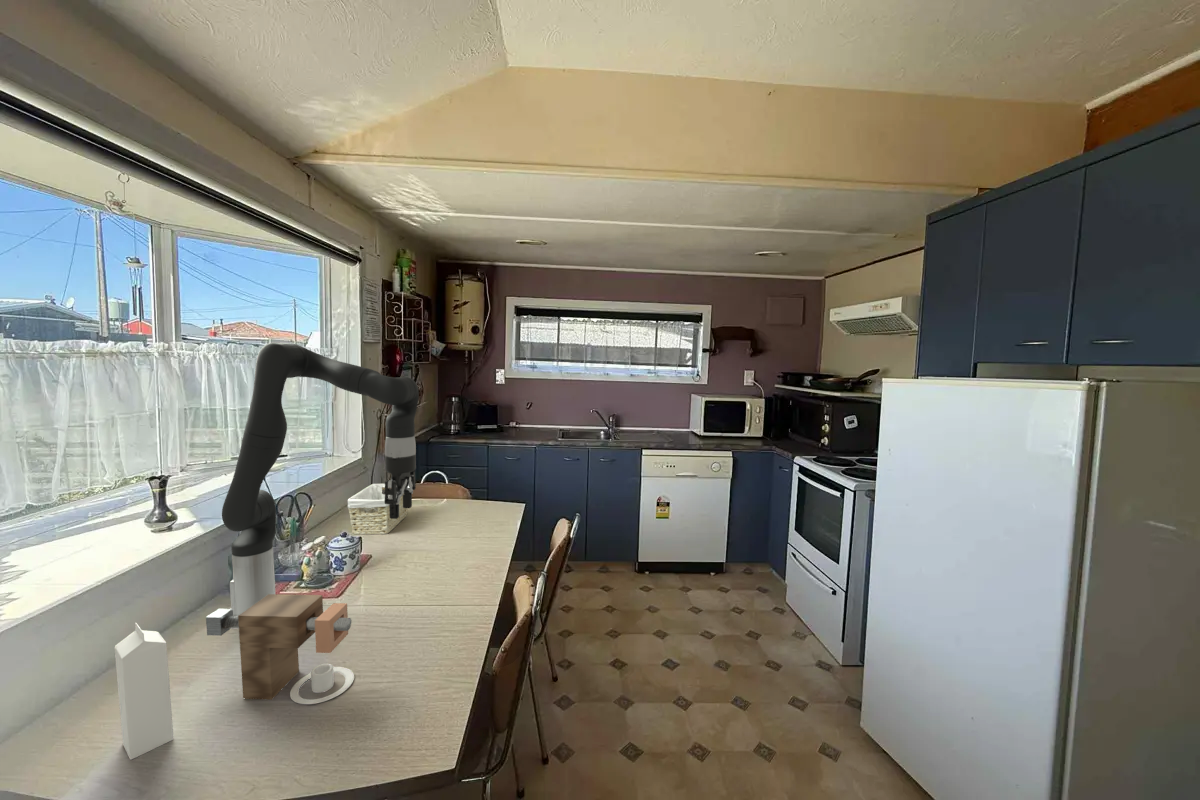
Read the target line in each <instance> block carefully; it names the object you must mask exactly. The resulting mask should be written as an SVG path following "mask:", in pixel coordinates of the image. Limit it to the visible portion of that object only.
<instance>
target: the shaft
mask: <svg viewBox="0 0 1200 800" xmlns="http://www.w3.org/2000/svg"><path fill="white" fill-rule="evenodd" d="M317 618H318V617H309V618H308V619H307V620H306V630H315V620H316V619H317ZM205 621H206V625H205V626H206V636H218V637H219V636H224V634H226V633H227V632H229V630H231V629H232V630H233V629H235V630H237V629H238V630H239V622H238V616H235V615H233V609H231V608H217V609H216V610H215V611H213V612H211V613H210V614H208V615H207V616H205ZM351 626H352V618H351V617H348V618H339V619H338V620H337V621H336V622H335V623H334V631H348V632H349V630H350V628H351Z"/></svg>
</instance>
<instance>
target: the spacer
mask: <svg viewBox="0 0 1200 800" xmlns="http://www.w3.org/2000/svg"><path fill="white" fill-rule="evenodd" d="M348 612H349V611H348V603H346V602H345V603H342V602H341V603H340V602H337V603H335V602H333V603H332V604H331V605H329V607H328V608H327V609H325V610H323V613H322V614H321V615H320V616H319V617H318V618H317V619H316V620H315V633H314V635H315V652H316V654H331V653H332V652H333V651H334V650H335V649H336V648H337V646H339V644H341V642H343V641H344V639H345V638H346V637H348V634H349V630H348V631H334V623H335V622H336V621H337V620H338V619H339V618H349V617H348Z"/></svg>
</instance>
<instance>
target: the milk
mask: <svg viewBox="0 0 1200 800" xmlns="http://www.w3.org/2000/svg"><path fill="white" fill-rule="evenodd" d="M134 626H135V630H134V631H133V632H131V633H130V634H129V635H127V636H126V637H125V638H123V639H122V640H121V641H119V642H118V643H117V644H115V646H114V655H115V669H116V670H115V671H116V680H117V681H116V683H117V693H118V703H119V705H118V706H119V716H120V727H121V728H120V729H121V741H122V745H123V748H124V750H125V752H126V754H127V756H128V757H129V760H130V761H131V760H133V759H136V758H137V757H140V756H142V755H144V754H147V753H149V752H150V751H153V750H155V749H157V748H158V747H161V746H163V745H165V744H167V743H169V742H171V741H173V740H174V725H173V724H174V723H173V713H172V712H173V711H172V699H171V687H170V686H171V684H170V673H169V672H170V671H169V659H168V658H169V656H168V644H167V641H166V640H165V639H164V638H163V636H162V635H161V633H160V632H159V631H155V630H146V629H145V630H143V629H141V627H140V626H139V624H138V623H137V622H135V623H134Z"/></svg>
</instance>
